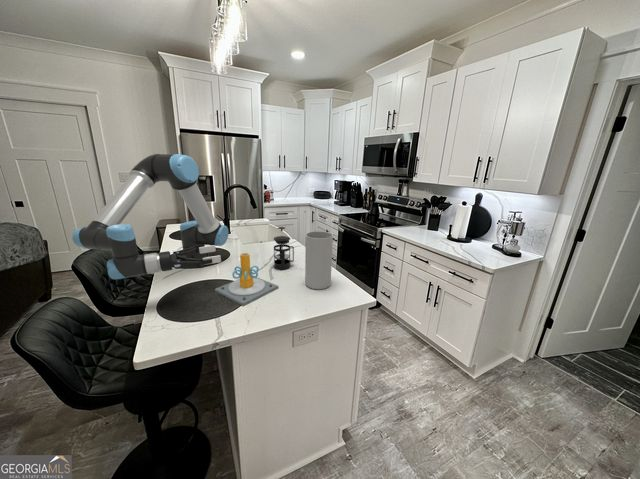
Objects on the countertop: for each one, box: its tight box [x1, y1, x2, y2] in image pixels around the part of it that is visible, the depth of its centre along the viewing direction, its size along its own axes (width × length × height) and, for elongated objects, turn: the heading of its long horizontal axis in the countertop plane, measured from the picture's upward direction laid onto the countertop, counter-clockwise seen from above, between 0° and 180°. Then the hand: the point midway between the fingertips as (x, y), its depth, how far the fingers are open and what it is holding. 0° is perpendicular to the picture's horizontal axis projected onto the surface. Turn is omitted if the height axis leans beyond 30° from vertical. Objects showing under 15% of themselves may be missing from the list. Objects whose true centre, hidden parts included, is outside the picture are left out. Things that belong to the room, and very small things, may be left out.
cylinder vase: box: [304, 230, 334, 290], centre depth 121 cm, size 12×12×25 cm
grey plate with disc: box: [214, 276, 279, 307], centre depth 117 cm, size 20×20×2 cm
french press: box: [273, 226, 295, 271], centre depth 141 cm, size 12×9×23 cm
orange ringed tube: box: [231, 252, 260, 288], centre depth 115 cm, size 12×10×15 cm
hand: (217, 253), depth 109 cm, fingers open, 13 cm apart
